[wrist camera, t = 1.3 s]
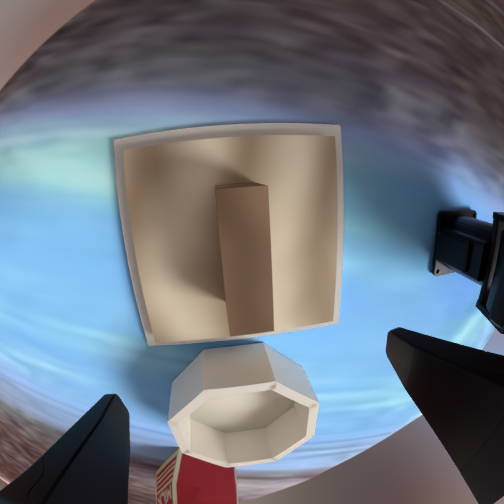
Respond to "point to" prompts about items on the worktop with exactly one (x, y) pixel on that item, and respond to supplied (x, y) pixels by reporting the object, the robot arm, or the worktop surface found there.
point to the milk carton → (195, 482)
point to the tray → (221, 132)
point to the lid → (234, 233)
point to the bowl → (242, 406)
